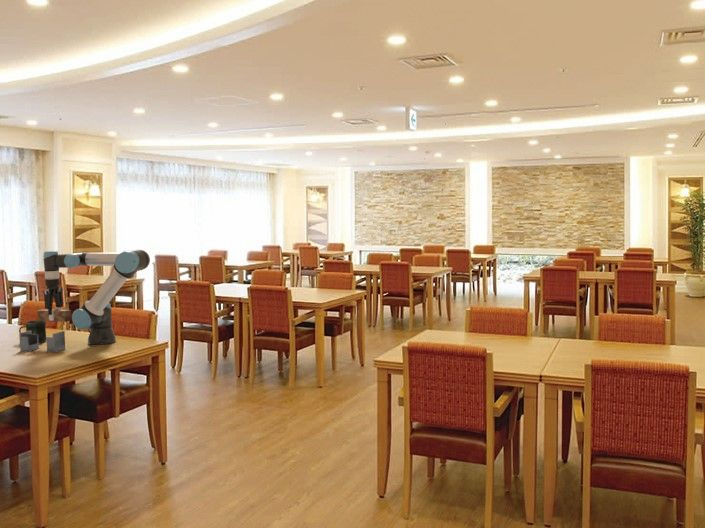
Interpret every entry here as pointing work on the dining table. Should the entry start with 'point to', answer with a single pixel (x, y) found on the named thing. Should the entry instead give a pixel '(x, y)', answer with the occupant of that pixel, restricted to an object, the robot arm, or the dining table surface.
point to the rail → (58, 315)
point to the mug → (36, 329)
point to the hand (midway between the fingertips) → (55, 319)
